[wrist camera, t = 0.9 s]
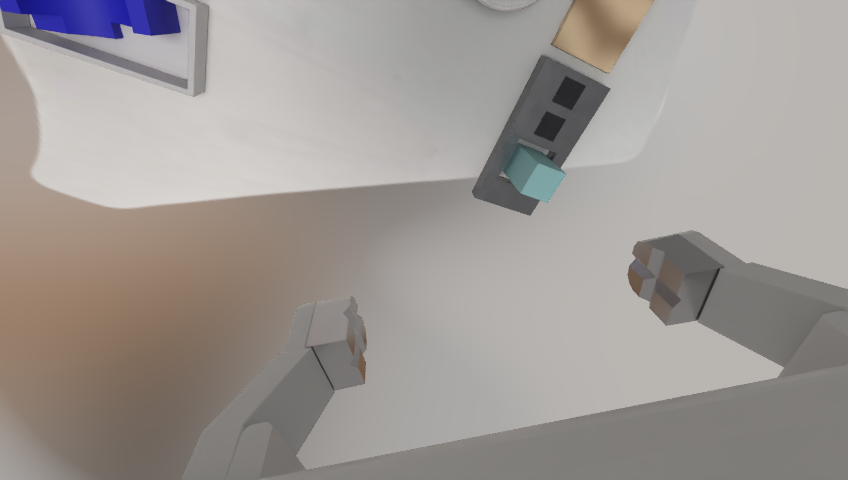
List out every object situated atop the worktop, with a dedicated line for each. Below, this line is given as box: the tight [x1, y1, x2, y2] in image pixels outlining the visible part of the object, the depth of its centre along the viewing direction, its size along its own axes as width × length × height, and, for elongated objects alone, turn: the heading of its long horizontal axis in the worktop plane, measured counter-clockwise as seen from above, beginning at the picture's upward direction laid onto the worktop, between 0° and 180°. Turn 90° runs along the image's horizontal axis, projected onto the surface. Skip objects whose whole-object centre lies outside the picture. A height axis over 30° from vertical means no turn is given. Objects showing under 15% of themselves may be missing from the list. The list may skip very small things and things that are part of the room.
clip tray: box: [0, 0, 209, 97], centre depth 35 cm, size 9×17×3 cm, turn 68°
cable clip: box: [0, 0, 181, 39], centre depth 34 cm, size 12×4×6 cm, turn 81°
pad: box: [551, 0, 654, 74], centre depth 41 cm, size 9×9×1 cm
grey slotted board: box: [472, 56, 610, 215], centre depth 48 cm, size 20×10×2 cm, turn 158°
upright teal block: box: [502, 143, 566, 203], centre depth 47 cm, size 4×4×8 cm
